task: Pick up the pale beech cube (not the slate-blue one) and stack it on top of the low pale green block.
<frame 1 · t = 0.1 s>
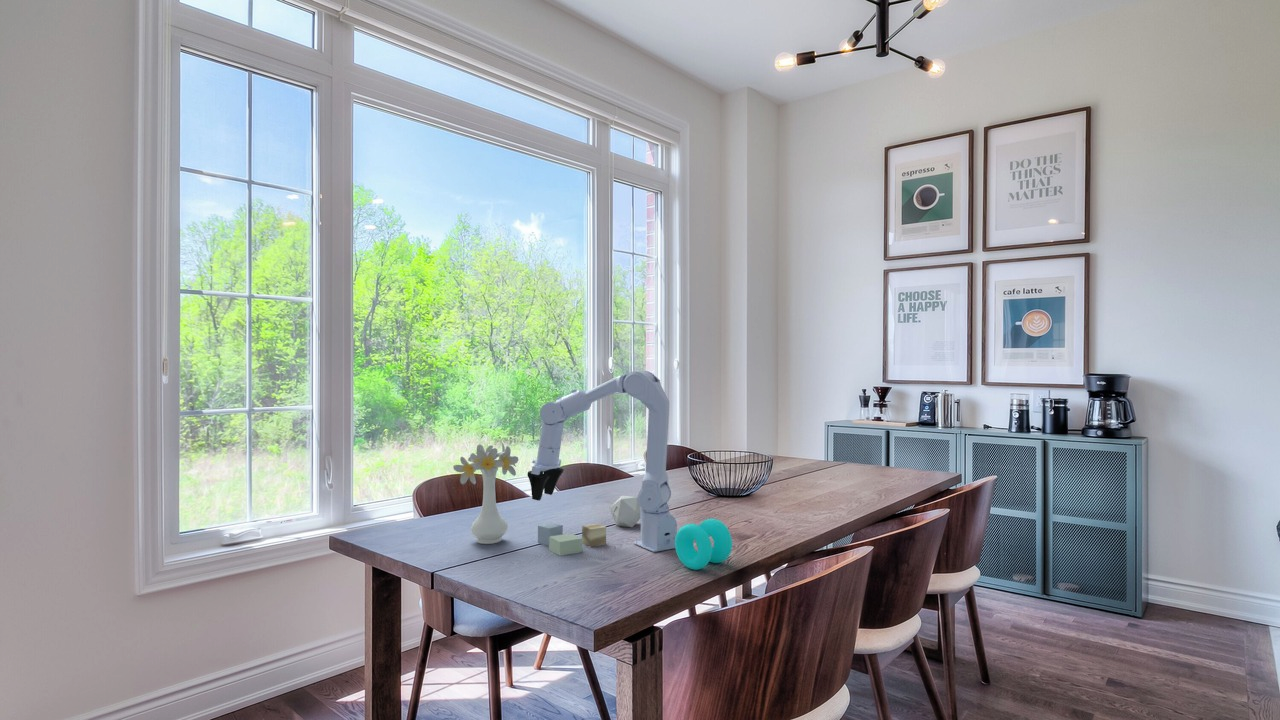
hand: (542, 496, 177), 11 cm above the table, tool pointing down, fingers open, 7 cm apart
die: (626, 526, 189), on the table
slate cube: (550, 542, 171), on the table
beech cube: (594, 543, 170), on the table
pale green block: (565, 551, 163), on the table
flower vase: (489, 542, 172), on the table
donuts: (703, 566, 151), on the table
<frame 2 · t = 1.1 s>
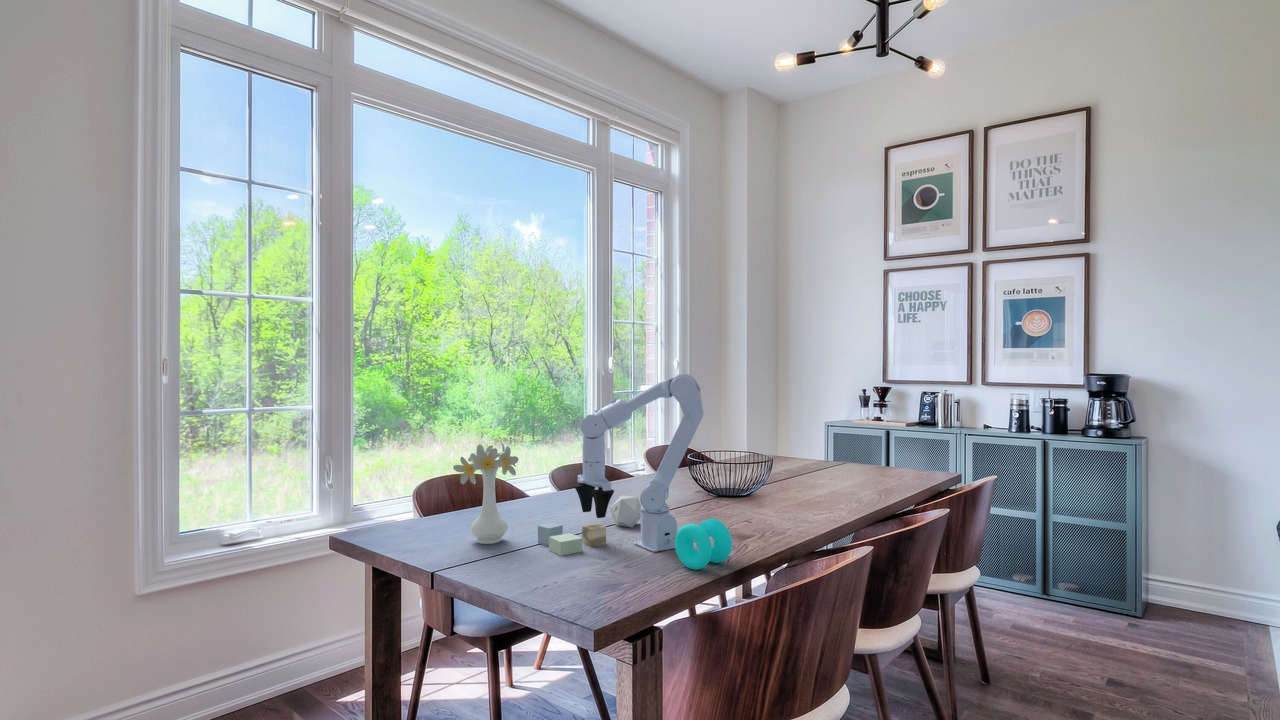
hand: (593, 514, 170), 7 cm above the table, tool pointing down, fingers open, 7 cm apart
nothing on the table moved.
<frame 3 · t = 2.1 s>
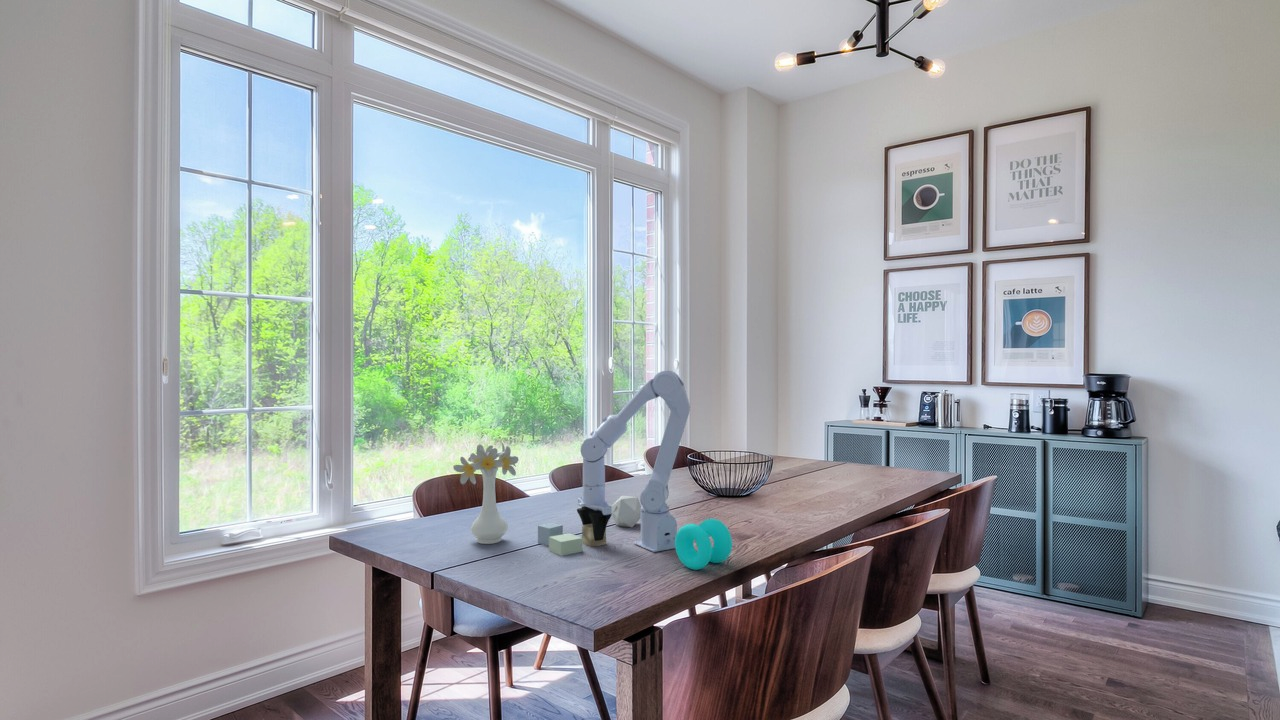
hand: (594, 537, 170), 1 cm above the table, tool pointing down, fingers closed on beech cube, 4 cm apart
beech cube: (594, 543, 170), on the table, touching gripper
everything else where it was.
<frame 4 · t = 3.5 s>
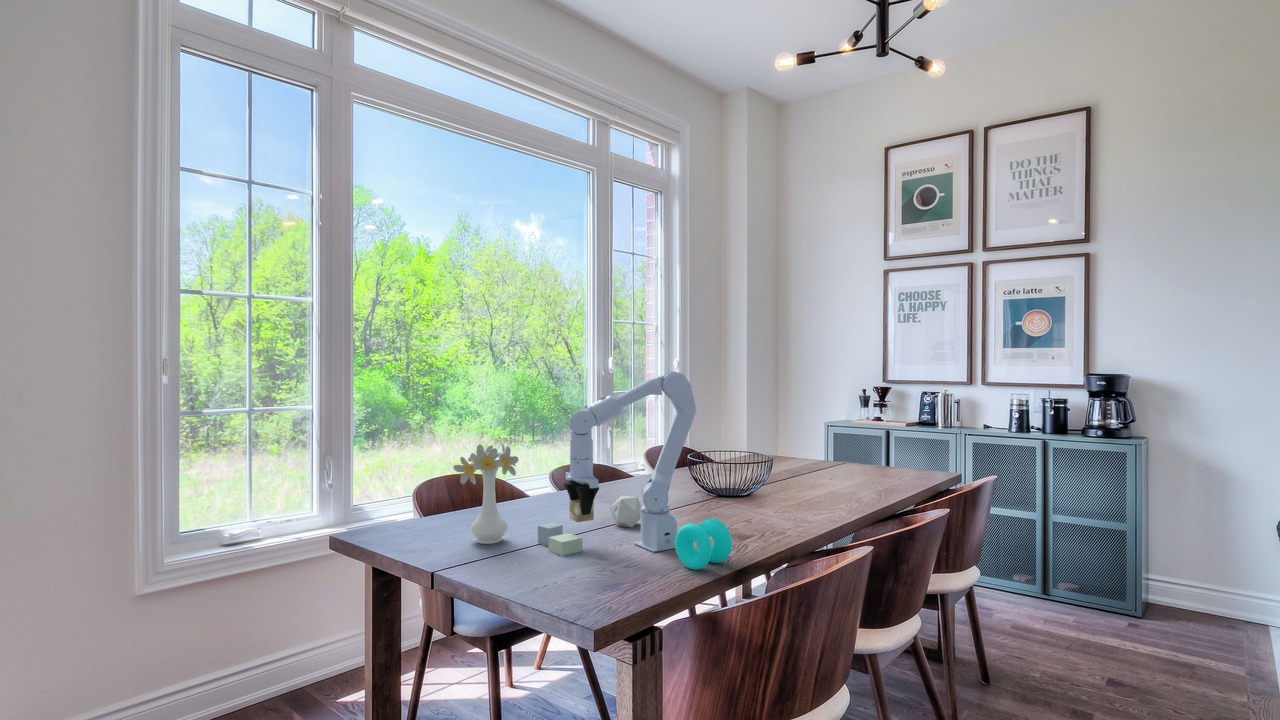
hand: (581, 512, 167), 9 cm above the table, tool pointing down, fingers closed on beech cube, 4 cm apart
beech cube: (581, 519, 167), point 7 cm above the table, touching gripper
everything else where it was.
when the fingers open (6 cm above the table, at t = 4.8 s): beech cube stays where it is, resting on pale green block.
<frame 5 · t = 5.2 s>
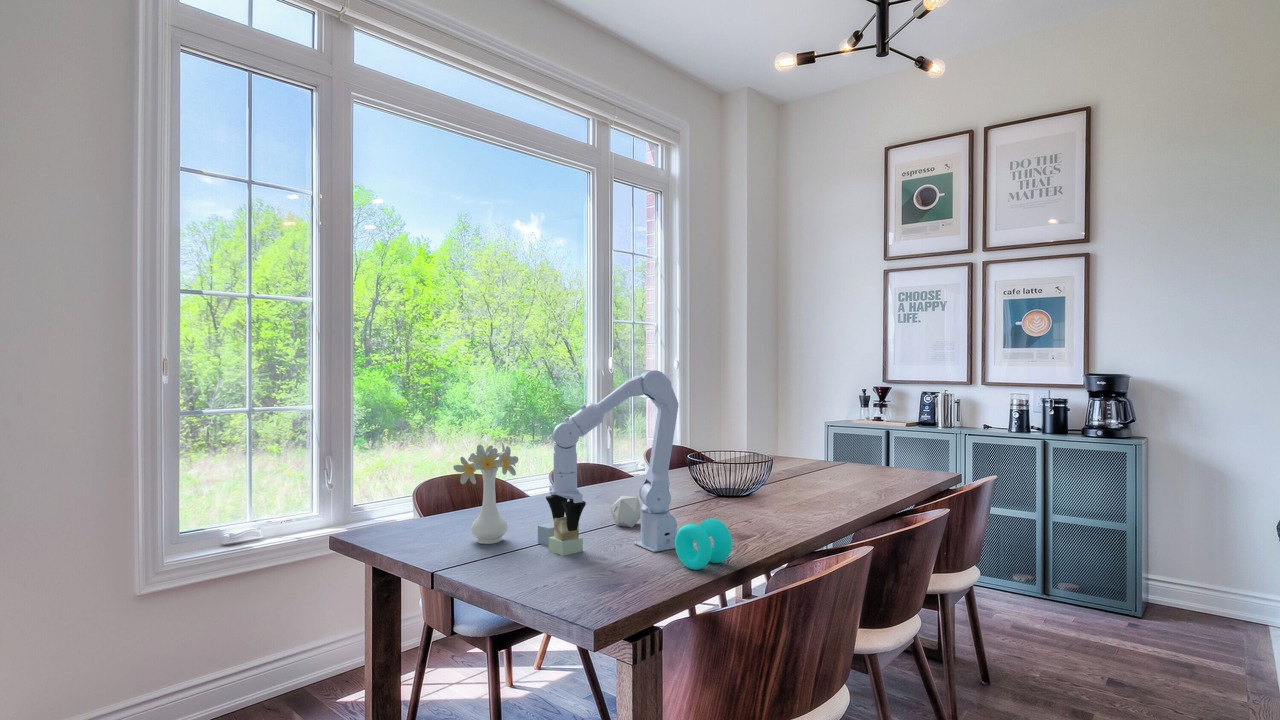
hand: (565, 527, 164), 6 cm above the table, tool pointing down, fingers open, 7 cm apart
beech cube: (566, 537, 163), point 3 cm above the table, touching pale green block
pale green block: (565, 551, 163), on the table, touching beech cube
everything else where it was.
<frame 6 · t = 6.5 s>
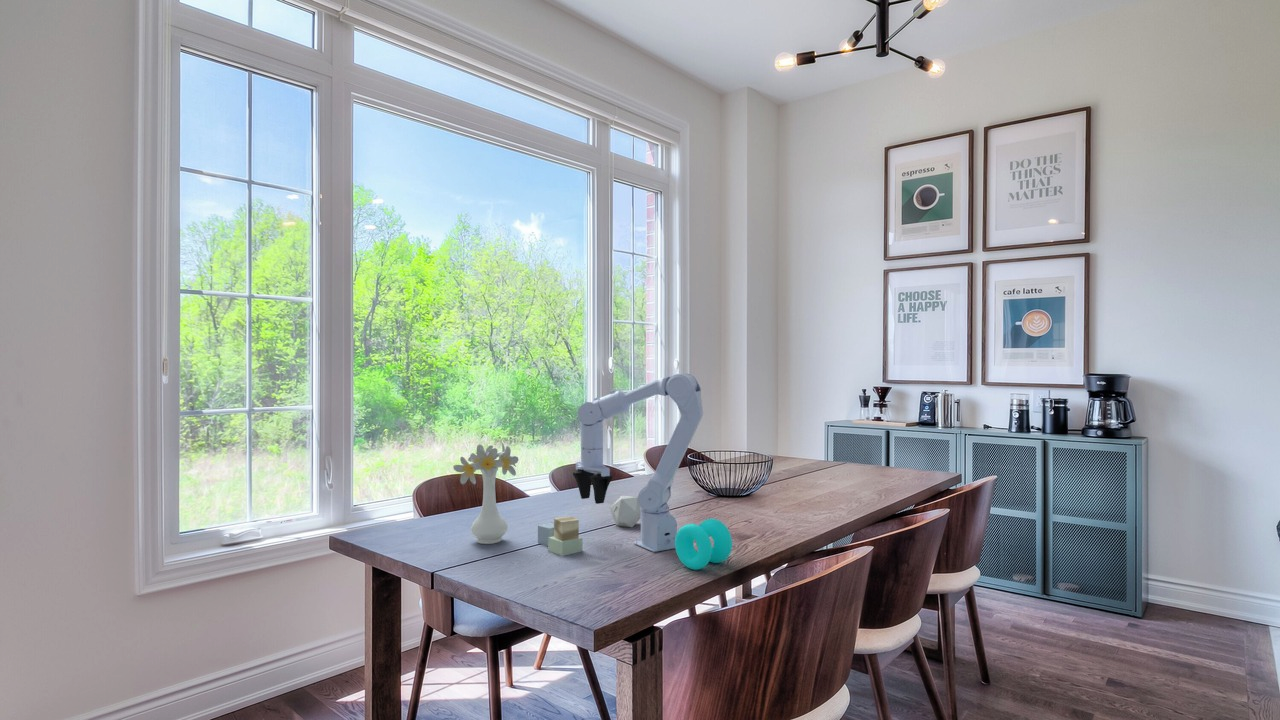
hand: (592, 500, 173), 10 cm above the table, tool pointing down, fingers open, 7 cm apart
beech cube: (566, 537, 164), point 3 cm above the table
pale green block: (565, 552, 163), on the table
everything else where it was.
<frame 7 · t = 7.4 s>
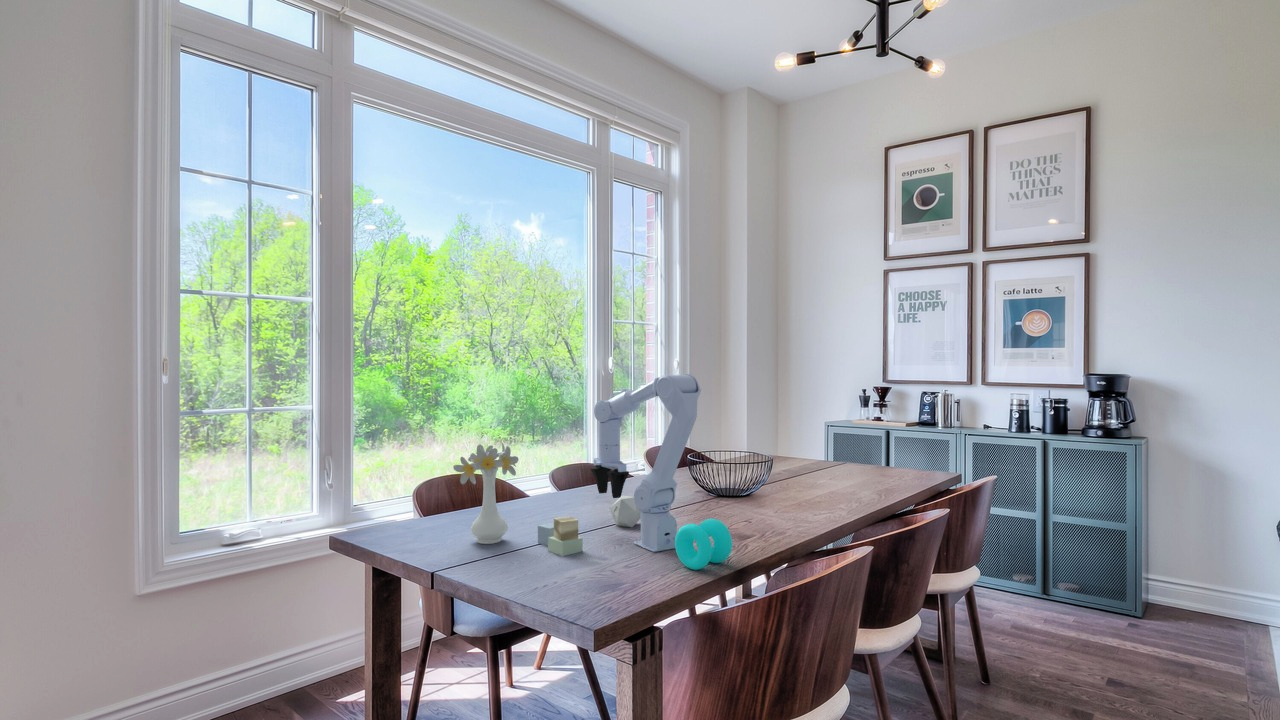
hand: (609, 495, 179), 10 cm above the table, tool pointing down, fingers open, 7 cm apart
nothing on the table moved.
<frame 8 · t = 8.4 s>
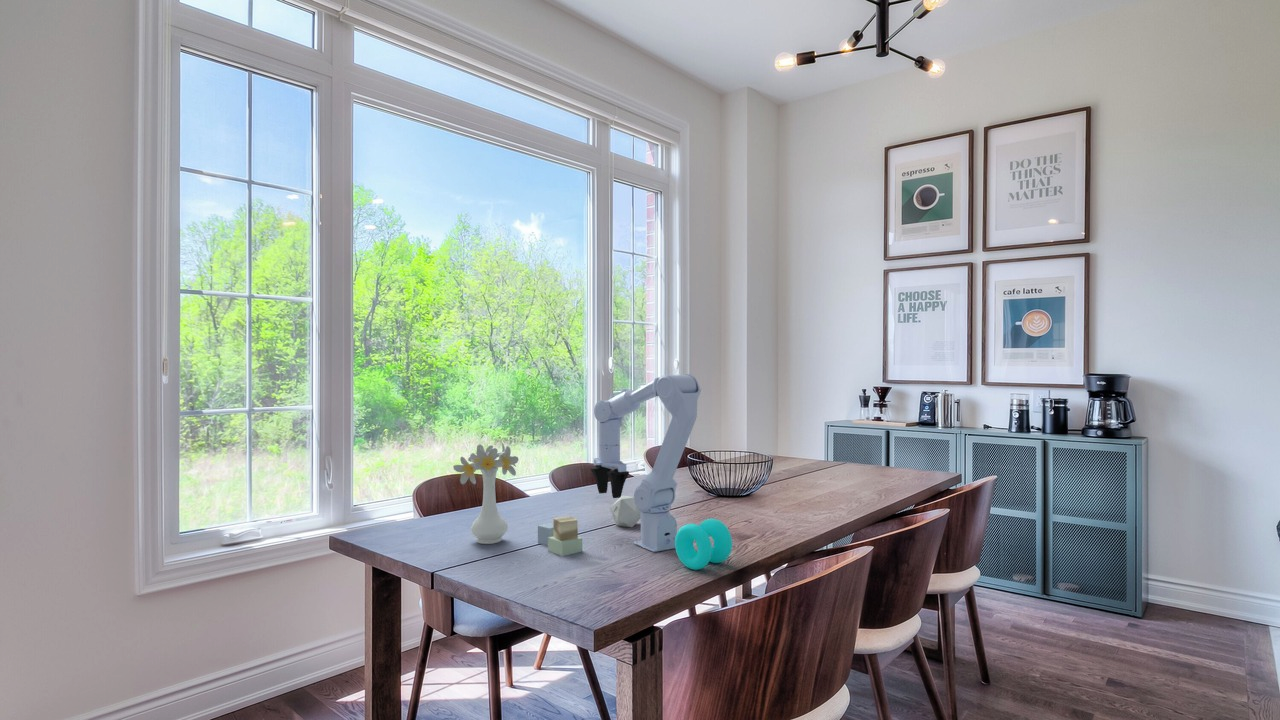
hand: (609, 495, 179), 10 cm above the table, tool pointing down, fingers open, 7 cm apart
beech cube: (565, 537, 163), point 3 cm above the table, touching pale green block
pale green block: (565, 551, 163), on the table, touching beech cube
everything else where it was.
at the end: beech cube 0.1 cm off-centre on the pale green block, point 3.5 cm above the pale green block's base; beech cube tilted 1°; the gripper is holding nothing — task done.
